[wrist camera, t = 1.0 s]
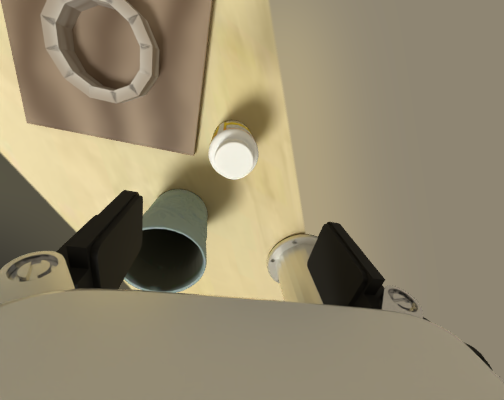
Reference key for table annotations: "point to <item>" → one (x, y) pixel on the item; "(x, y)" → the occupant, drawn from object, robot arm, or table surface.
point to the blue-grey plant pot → (171, 244)
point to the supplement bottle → (233, 150)
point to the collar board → (112, 67)
